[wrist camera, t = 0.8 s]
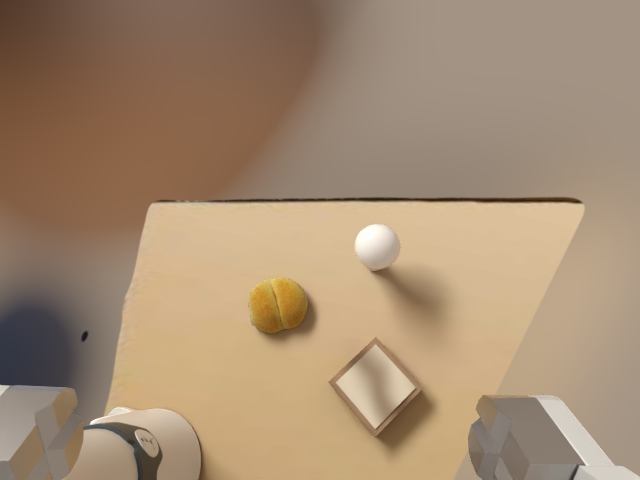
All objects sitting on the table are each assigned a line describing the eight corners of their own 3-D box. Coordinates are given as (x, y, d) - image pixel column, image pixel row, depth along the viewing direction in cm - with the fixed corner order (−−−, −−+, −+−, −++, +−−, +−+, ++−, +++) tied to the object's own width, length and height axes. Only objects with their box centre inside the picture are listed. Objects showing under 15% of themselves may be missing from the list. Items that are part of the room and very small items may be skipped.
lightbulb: (365, 290, 61) (368, 268, 51) (347, 255, 63) (346, 228, 53) (401, 273, 62) (411, 248, 51) (382, 239, 64) (388, 209, 54)
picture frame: (373, 435, 53) (375, 437, 51) (329, 382, 56) (328, 382, 53) (419, 388, 55) (423, 387, 52) (374, 339, 58) (375, 336, 55)
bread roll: (313, 323, 60) (310, 319, 56) (255, 338, 60) (249, 334, 56) (301, 273, 63) (298, 265, 59) (247, 287, 63) (240, 280, 59)
